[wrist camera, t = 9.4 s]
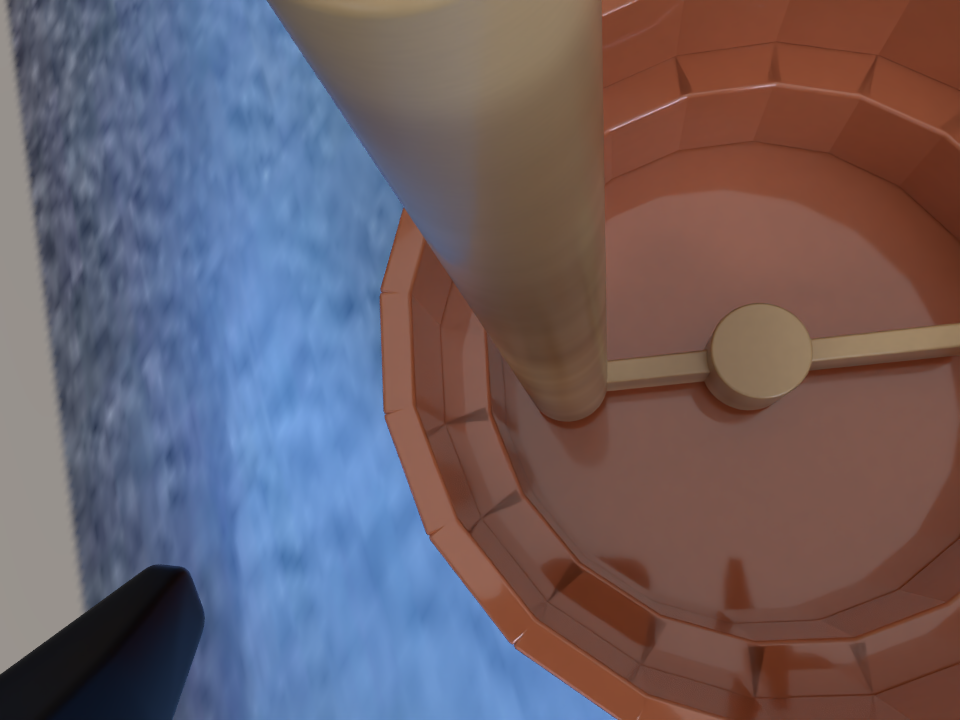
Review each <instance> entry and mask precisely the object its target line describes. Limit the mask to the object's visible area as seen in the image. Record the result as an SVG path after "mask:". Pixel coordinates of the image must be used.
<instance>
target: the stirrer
mask: <svg viewBox="0 0 960 720" xmlns="http://www.w3.org/2000/svg"><path fill="white" fill-rule="evenodd" d="M267 2H268V3H269V5H270V6H271V8H272V9H273V11H274V12H275V14H276V15H277V17H278V18H279V20H280V21H281V23H282V24H283V26H284V27H285V29H286V30H287V32H288V33H289V35H290V36H291V38H292V39H293V41H294V42H295V44H296V45H297V47H298V48H299V50H300V51H301V53H302V54H303V56H304V57H305V59H306V60H307V62H308V63H309V65H310V66H311V68H312V69H313V71H314V73H315V74H316V76H317V77H318V79H319V80H320V82H321V83H322V85H323V86H324V88H325V89H326V91H327V92H328V94H329V95H330V97H331V98H332V100H333V101H334V103H335V104H336V106H337V107H338V109H339V110H340V112H341V113H342V115H343V116H344V118H345V119H346V121H347V122H348V124H349V125H350V127H351V128H352V130H353V131H354V133H355V134H356V136H357V137H358V139H359V140H360V142H361V143H362V145H363V146H364V148H365V149H366V151H367V152H368V154H369V155H370V157H371V158H372V160H373V162H374V163H375V165H376V166H377V168H378V169H379V171H380V172H381V174H382V175H383V177H384V178H385V180H386V181H387V183H388V184H389V186H390V187H391V189H392V190H393V192H394V193H395V195H396V196H397V198H398V199H399V201H400V202H401V204H402V205H403V207H404V208H405V210H406V211H407V213H408V214H409V216H410V217H411V219H412V220H413V222H414V223H415V225H416V226H417V228H418V229H419V231H420V232H421V234H422V235H423V237H424V238H425V240H426V241H427V243H428V244H429V246H430V247H431V249H432V250H433V252H434V254H435V255H436V257H437V258H438V260H439V261H440V263H441V264H442V266H443V267H444V269H445V270H446V272H447V273H448V275H449V276H450V278H451V279H452V281H453V282H454V284H455V285H456V287H457V288H458V290H459V291H460V293H461V294H462V296H463V297H464V299H465V300H466V302H467V303H468V305H469V306H470V308H471V309H472V311H473V312H474V314H475V315H476V317H477V318H478V320H479V321H480V323H481V324H482V326H483V327H484V329H485V330H486V332H487V333H488V335H489V336H490V338H491V339H492V341H493V343H494V344H495V346H496V347H497V349H498V350H499V352H500V353H501V355H502V356H503V358H504V359H505V361H506V362H507V364H508V365H509V367H510V368H511V370H512V371H513V373H514V374H515V376H516V377H517V379H518V380H519V382H520V383H521V385H522V386H523V388H524V389H525V391H526V392H527V394H528V395H529V397H530V398H531V400H532V401H533V403H534V404H535V406H536V407H537V408H538V409H539V410H540V411H541V412H542V413H543V414H545V415H546V416H548V417H550V418H552V419H555V420H558V421H565V422H571V421H577V420H580V419H583V418H585V417H587V416H589V415H591V414H592V413H593V412H594V411H595V410H596V409H597V408H598V407H599V406H600V405H601V403H602V401H603V400H604V397H605V395H606V391H615V390H624V389H634V388H644V387H654V386H664V385H673V384H683V383H693V382H703V381H704V382H705V384H706V386H707V388H708V389H709V390H710V392H711V393H712V394H713V395H714V396H715V397H716V398H717V399H718V400H719V401H721V402H722V403H724V404H726V405H728V406H730V407H733V408H736V409H740V410H758V409H762V408H765V407H768V406H770V405H772V404H774V403H775V402H777V401H778V400H780V399H781V398H783V397H784V396H785V395H787V394H788V393H790V392H791V391H793V390H794V389H795V388H796V387H798V386H799V385H800V384H801V383H802V381H803V380H804V379H805V377H806V376H807V374H808V372H809V371H811V370H821V369H830V368H840V367H850V366H860V365H870V364H879V363H889V362H899V361H909V360H919V359H929V358H938V357H948V356H958V355H960V323H953V324H943V325H934V326H925V327H915V328H906V329H897V330H888V331H878V332H869V333H860V334H850V335H841V336H832V337H822V338H813V339H811V338H810V335H809V333H808V331H807V329H806V327H805V326H804V325H803V323H802V322H801V321H800V320H799V319H798V318H797V317H796V316H795V315H794V314H792V313H791V312H789V311H788V310H786V309H784V308H782V307H779V306H776V305H773V304H768V303H752V304H747V305H743V306H740V307H738V308H736V309H734V310H733V311H731V312H729V313H728V314H727V315H726V316H724V318H723V319H722V320H721V321H720V322H719V323H718V325H717V326H716V328H715V330H714V332H713V334H712V335H711V337H710V339H709V341H708V342H707V344H706V346H705V348H704V350H701V351H692V352H682V353H673V354H664V355H654V356H645V357H636V358H627V359H617V360H608V361H607V310H606V245H605V181H604V117H603V53H602V0H267Z"/></svg>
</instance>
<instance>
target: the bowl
mask: <svg viewBox="0 0 960 720" xmlns="http://www.w3.org/2000/svg"><path fill="white" fill-rule="evenodd" d="M602 53H603V117H604V181H605V245H606V310H607V361H608V360H617V359H627V358H636V357H645V356H654V355H664V354H673V353H682V352H692V351H701V350H704V348H705V346H706V344H707V342H708V341H709V339H710V337H711V335H712V334H713V332H714V330H715V328H716V326H717V325H718V323H719V322H720V321H721V320H722V319H723V318H724V316H726V315H727V314H728V313H729V312H731V311H733V310H734V309H736V308H738V307H740V306H743V305H747V304H752V303H768V304H773V305H776V306H779V307H782V308H784V309H786V310H788V311H789V312H791V313H792V314H794V315H795V316H796V317H797V318H798V319H799V320H800V321H801V322H802V323H803V325H804V326H805V327H806V329H807V331H808V333H809V335H810V338H811V339H813V338H822V337H832V336H841V335H850V334H860V333H869V332H878V331H888V330H897V329H906V328H915V327H925V326H934V325H943V324H953V323H960V0H602ZM381 292H382V293H380V325H381V354H382V382H383V411H384V413H385V421H386V423H387V426H388V429H389V432H390V434H391V437H392V440H393V443H394V446H395V448H396V451H397V454H398V457H399V459H400V462H401V465H402V468H403V470H404V473H405V476H406V479H407V481H408V484H409V487H410V490H411V493H412V495H413V498H414V501H415V504H416V506H417V509H418V512H419V515H420V517H421V520H422V523H423V526H424V528H425V531H426V534H427V535H430V536H429V538H430V540H431V542H432V543H433V544H434V546H435V547H436V548H437V550H438V551H439V552H440V553H441V555H442V556H443V557H444V559H445V560H446V561H447V563H448V564H449V565H450V566H451V568H452V569H453V570H454V572H455V573H456V574H457V575H458V577H459V578H460V579H461V581H462V582H463V583H464V585H465V586H466V587H467V588H468V590H469V591H470V592H471V594H472V595H473V596H474V598H475V599H476V600H477V601H478V603H479V604H480V605H481V607H482V608H483V609H484V611H485V612H486V613H487V614H488V616H489V617H490V618H491V620H492V621H493V622H494V624H495V625H496V626H497V627H498V629H499V630H500V631H501V633H502V634H503V635H504V637H505V638H506V639H507V640H508V642H509V643H510V644H512V645H513V644H514V647H515V649H517V650H518V651H519V652H521V653H522V654H524V655H525V656H527V657H528V658H529V659H531V660H532V661H534V662H535V663H537V664H538V665H540V666H541V667H542V668H544V669H545V670H547V671H548V672H550V673H551V674H552V675H554V676H555V677H557V678H558V679H560V680H561V681H562V682H564V683H565V684H567V685H568V686H570V687H571V688H573V689H574V690H575V691H577V692H578V693H580V694H581V695H583V696H584V697H585V698H587V699H588V700H590V701H591V702H593V703H594V704H595V705H597V706H598V707H600V708H601V709H603V710H604V711H606V712H607V713H608V714H610V715H611V716H613V717H614V718H616V719H617V720H960V355H958V356H948V357H938V358H929V359H919V360H909V361H899V362H889V363H879V364H870V365H860V366H850V367H840V368H830V369H821V370H811V371H809V372H808V374H807V376H806V377H805V379H804V380H803V381H802V383H801V384H800V385H799V386H798V387H796V388H795V389H794V390H793V391H791V392H790V393H788V394H787V395H785V396H784V397H783V398H781V399H780V400H778V401H777V402H775V403H774V404H772V405H770V406H768V407H765V408H762V409H758V410H740V409H736V408H733V407H730V406H728V405H726V404H724V403H722V402H721V401H719V400H718V399H717V398H716V397H715V396H714V395H713V394H712V393H711V392H710V390H709V389H708V388H707V386H706V384H705V382H704V381H703V382H693V383H683V384H673V385H664V386H654V387H644V388H634V389H624V390H615V391H606V395H605V397H604V400H603V401H602V403H601V405H600V406H599V407H598V408H597V409H596V410H595V411H594V412H593V413H592V414H591V415H589V416H587V417H585V418H583V419H580V420H577V421H571V422H565V421H558V420H555V419H552V418H550V417H548V416H546V415H545V414H543V413H542V412H541V411H540V410H539V409H538V408H537V407H536V406H535V404H534V403H533V401H532V400H531V398H530V397H529V395H528V394H527V392H526V391H525V389H524V388H523V386H522V385H521V383H520V382H519V380H518V379H517V377H516V376H515V374H514V373H513V371H512V370H511V368H510V367H509V365H508V364H507V362H506V361H505V359H504V358H503V356H502V355H501V353H500V352H499V350H498V349H497V347H496V346H495V344H494V343H493V341H492V339H491V338H490V336H489V335H488V333H487V332H486V330H485V329H484V327H483V326H482V324H481V323H480V321H479V320H478V318H477V317H476V315H475V314H474V312H473V311H472V309H471V308H470V306H469V305H468V303H467V302H466V300H465V299H464V297H463V296H462V294H461V293H460V291H459V290H458V288H457V287H456V285H455V284H454V282H453V281H452V279H451V278H450V276H449V275H448V273H447V272H446V270H445V269H444V267H443V266H442V264H441V263H440V261H439V260H438V258H437V257H436V255H435V254H434V252H433V250H432V249H431V247H430V246H429V244H428V243H427V241H426V240H425V238H424V237H423V235H422V234H421V232H420V231H419V229H418V228H417V226H416V225H415V223H414V222H413V220H412V219H411V217H410V216H409V214H408V213H407V211H406V210H405V208H404V207H403V211H402V214H401V218H400V221H399V225H398V228H397V232H396V236H395V239H394V243H393V246H392V250H391V253H390V257H389V260H388V264H387V267H386V271H385V274H384V278H383V282H382V285H381Z"/></svg>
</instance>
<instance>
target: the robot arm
mask: <svg viewBox="0 0 960 720" xmlns="http://www.w3.org/2000/svg"><path fill="white" fill-rule="evenodd" d="M204 621H205V616H204V610H203V607H202V604H201V601H200V599H199V596H198V593H197V591H196V588H195V585H194V582H193V580H192V577H191V575H190V573H189V571H188V570H186V569H185V568H184V567H179V566H169V565H152V566H150V567H148V568H146V569H145V570H143V571H142V572H140V573H139V574H138V575H136V576H135V577H134V578H132V579H131V580H129V581H128V582H127V583H125V584H124V585H123V586H121V587H120V588H118V589H117V590H116V591H114V592H113V593H112V594H110V595H109V596H107V597H106V598H105V599H103V600H102V601H101V602H99V603H98V604H96V605H95V606H94V607H92V608H91V609H90V610H88V611H87V612H85V613H84V614H83V615H81V616H80V617H79V618H77V619H76V620H75V621H73V622H72V623H70V624H69V625H68V626H66V627H65V628H63V629H62V630H61V631H59V632H58V633H57V634H55V635H54V636H53V637H51V638H50V639H49V640H47V641H46V642H44V643H43V644H42V645H40V646H39V647H37V648H36V649H35V650H33V651H32V652H31V653H29V654H28V655H27V656H25V657H24V658H23V659H21V660H20V661H18V662H17V663H16V664H14V665H13V666H11V667H10V668H9V669H7V670H6V671H5V672H3V673H2V674H0V720H172V719H173V716H174V713H175V711H176V708H177V705H178V702H179V699H180V696H181V693H182V690H183V687H184V684H185V682H186V679H187V676H188V673H189V670H190V667H191V664H192V661H193V658H194V656H195V653H196V650H197V647H198V644H199V641H200V638H201V635H202V632H203V628H204Z"/></svg>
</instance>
